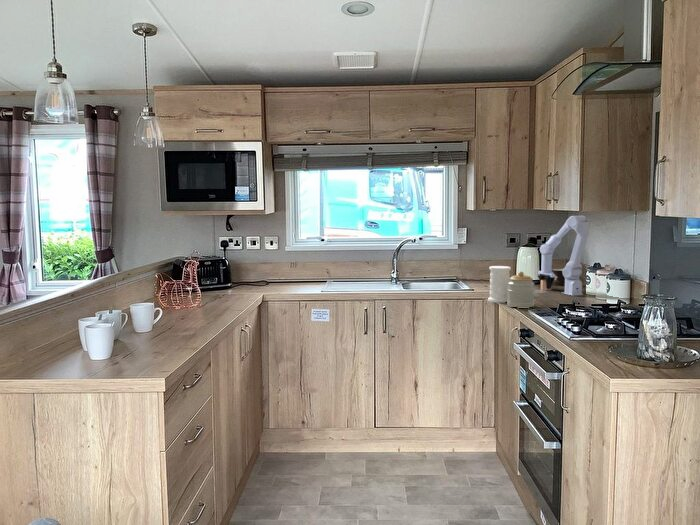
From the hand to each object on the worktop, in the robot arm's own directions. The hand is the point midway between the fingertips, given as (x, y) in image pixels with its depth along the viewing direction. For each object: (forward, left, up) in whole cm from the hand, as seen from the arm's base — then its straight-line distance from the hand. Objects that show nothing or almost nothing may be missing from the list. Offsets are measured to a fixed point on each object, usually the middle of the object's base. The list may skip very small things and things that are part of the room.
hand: (545, 287), depth 320 cm
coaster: (-6, +8, -1) cm, 10 cm away
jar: (-42, +38, -2) cm, 56 cm away
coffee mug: (+15, -17, -2) cm, 23 cm away
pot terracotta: (0, 0, -1) cm, 1 cm away
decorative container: (-25, +41, -2) cm, 48 cm away
